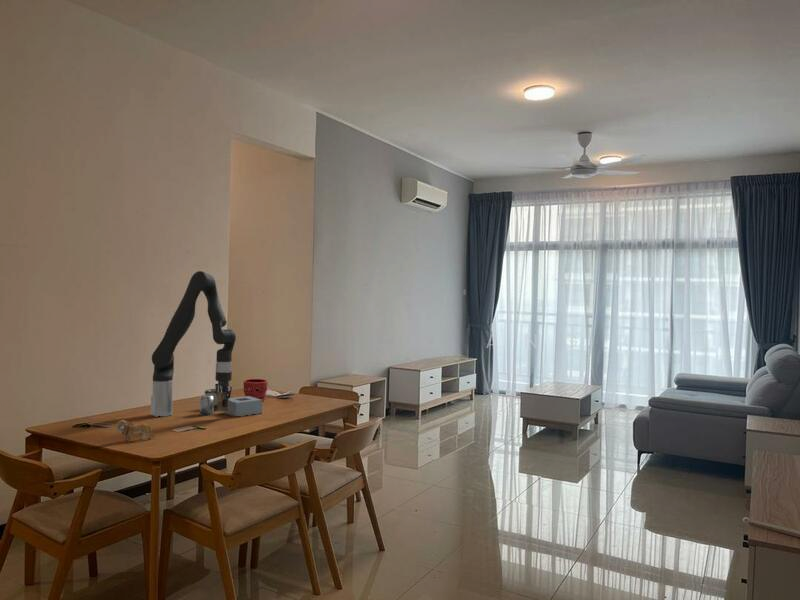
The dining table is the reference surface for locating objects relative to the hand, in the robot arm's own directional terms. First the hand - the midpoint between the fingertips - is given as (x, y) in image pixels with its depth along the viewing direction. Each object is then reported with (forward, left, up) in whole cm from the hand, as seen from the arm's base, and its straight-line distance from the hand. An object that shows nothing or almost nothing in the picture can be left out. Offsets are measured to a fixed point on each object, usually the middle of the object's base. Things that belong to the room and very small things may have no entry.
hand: (222, 406), depth 291 cm
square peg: (0, 0, -2) cm, 2 cm away
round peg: (-1, +15, -6) cm, 16 cm away
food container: (+10, +26, -6) cm, 29 cm away
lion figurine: (-47, -18, -6) cm, 51 cm away
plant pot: (+35, +32, -6) cm, 48 cm away
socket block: (+14, +6, -6) cm, 16 cm away
